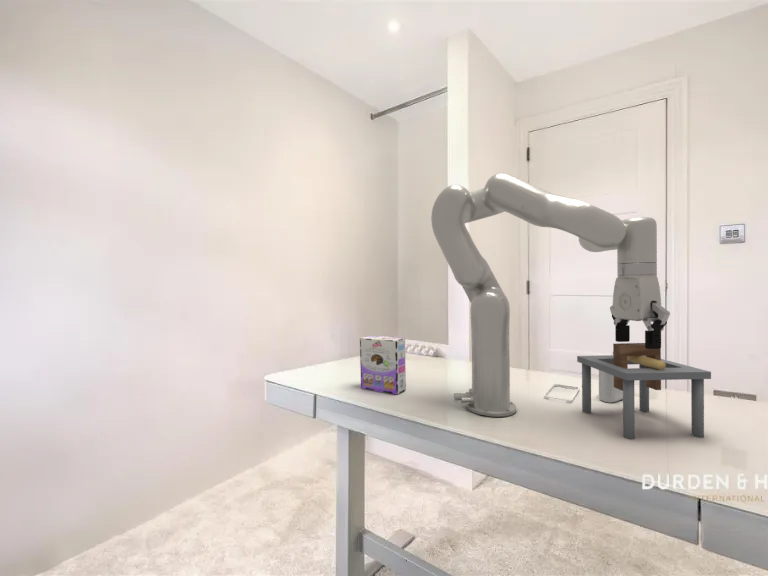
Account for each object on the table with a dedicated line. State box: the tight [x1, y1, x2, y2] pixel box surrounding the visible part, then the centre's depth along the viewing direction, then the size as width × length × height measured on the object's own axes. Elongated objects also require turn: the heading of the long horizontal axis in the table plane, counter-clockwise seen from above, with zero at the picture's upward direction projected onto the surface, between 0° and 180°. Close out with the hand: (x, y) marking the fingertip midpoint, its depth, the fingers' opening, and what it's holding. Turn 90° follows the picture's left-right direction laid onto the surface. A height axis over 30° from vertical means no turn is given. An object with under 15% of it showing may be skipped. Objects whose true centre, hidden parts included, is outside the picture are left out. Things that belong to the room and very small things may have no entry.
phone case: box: [543, 383, 581, 404], centre depth 105 cm, size 7×1×15 cm
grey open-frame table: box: [576, 354, 712, 440], centre depth 83 cm, size 18×18×16 cm
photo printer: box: [598, 364, 629, 404], centre depth 100 cm, size 10×4×12 cm, turn 123°
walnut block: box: [612, 342, 662, 391], centre depth 83 cm, size 3×9×10 cm, turn 91°
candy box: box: [359, 335, 407, 395], centre depth 111 cm, size 14×6×16 cm, turn 58°
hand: (636, 344), depth 83 cm, fingers open, 9 cm apart
